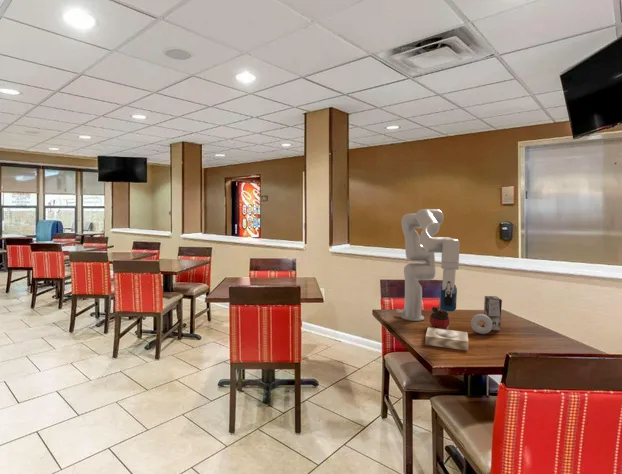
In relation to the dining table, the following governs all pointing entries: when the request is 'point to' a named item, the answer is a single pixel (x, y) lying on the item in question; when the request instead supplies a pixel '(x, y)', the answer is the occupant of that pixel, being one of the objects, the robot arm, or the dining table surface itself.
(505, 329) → the dining table surface
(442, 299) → the soda can
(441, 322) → the cake
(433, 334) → the block
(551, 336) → the dining table surface
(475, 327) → the donut
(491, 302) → the coffee box
